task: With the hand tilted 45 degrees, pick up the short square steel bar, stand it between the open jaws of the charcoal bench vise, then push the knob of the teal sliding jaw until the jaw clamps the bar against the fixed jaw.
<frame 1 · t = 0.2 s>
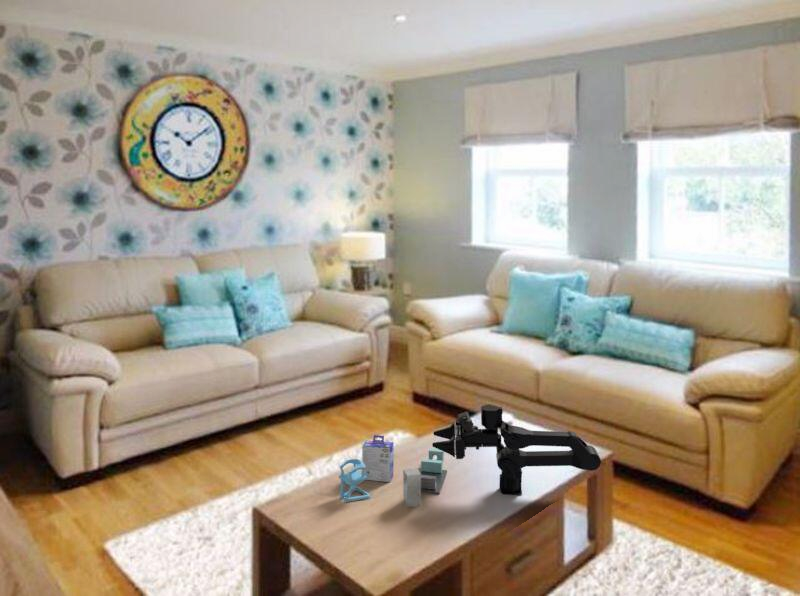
hand: (433, 438, 210), 17 cm above the table, tool horizontal, fingers open, 9 cm apart
sliding jaw: (434, 460, 226), point 3 cm above the table, slide at 0.0 cm
bench vise: (428, 481, 217), on the table
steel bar: (412, 503, 203), on the table
chair: (353, 497, 207), on the table
ink cartridge box: (378, 478, 220), on the table
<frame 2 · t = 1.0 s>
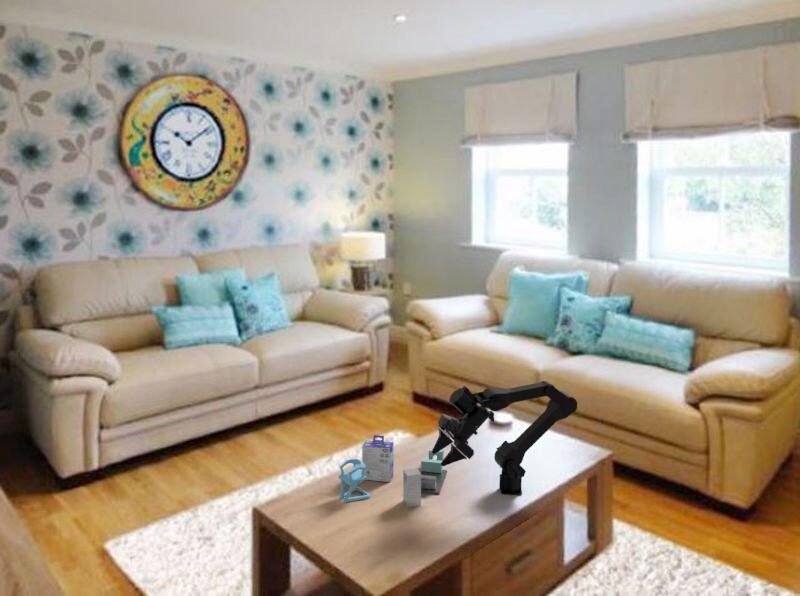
hand: (437, 459, 202), 14 cm above the table, tool tilted 45°, fingers open, 9 cm apart
nothing on the table moved.
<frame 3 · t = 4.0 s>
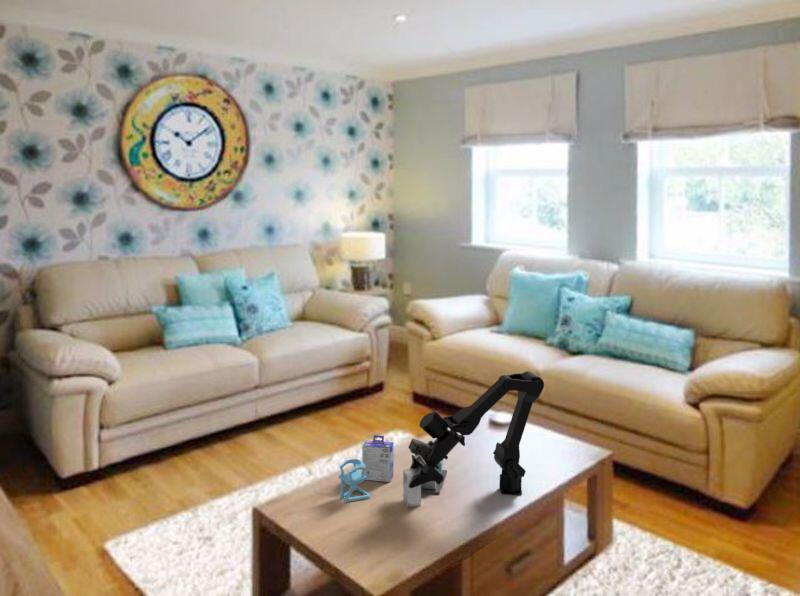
hand: (407, 483, 201), 7 cm above the table, tool tilted 45°, fingers closed on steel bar, 4 cm apart
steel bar: (412, 503, 203), on the table, touching gripper
everything else where it was.
when the fingers open (8 cm above the table, at t = 7.9 s): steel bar drops 1 cm, resting on bench vise.
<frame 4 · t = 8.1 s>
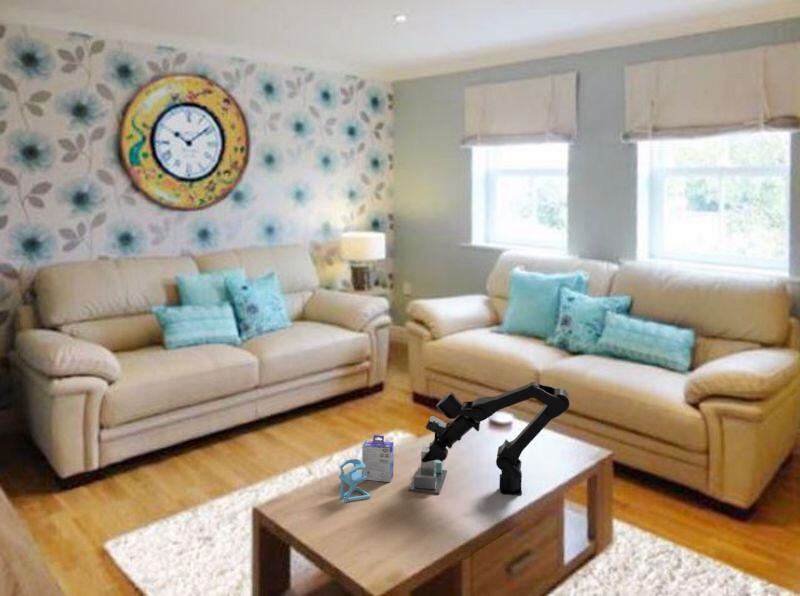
hand: (424, 457, 215), 9 cm above the table, tool tilted 45°, fingers open, 6 cm apart
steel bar: (428, 479, 217), point 1 cm above the table, touching bench vise
everything else where it was.
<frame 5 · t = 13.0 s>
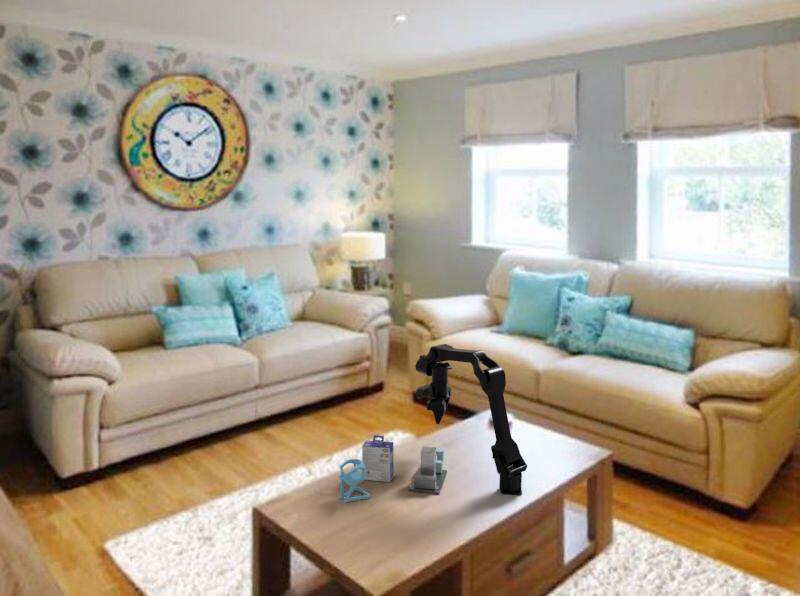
hand: (439, 420, 235), 13 cm above the table, tool pointing down, fingers open, 6 cm apart
nothing on the table moved.
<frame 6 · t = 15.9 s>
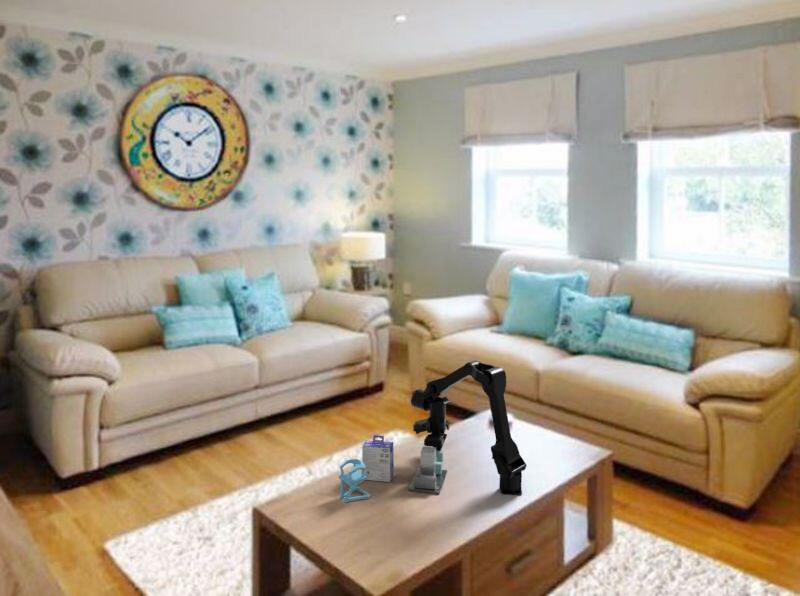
hand: (437, 455, 232), 2 cm above the table, tool pointing down, fingers closed
sliding jaw: (433, 461, 225), point 3 cm above the table, slide at 1.1 cm, touching gripper
everything else where it was.
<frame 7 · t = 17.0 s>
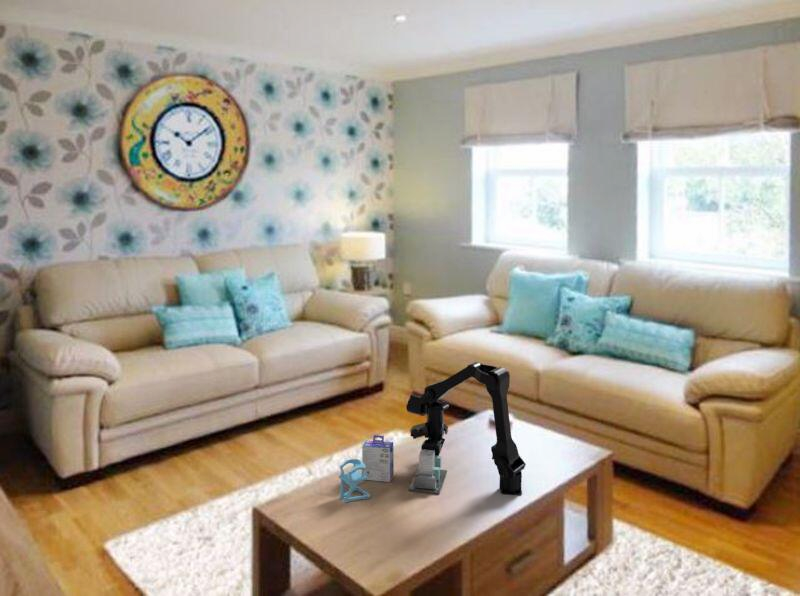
hand: (435, 460, 228), 2 cm above the table, tool pointing down, fingers closed
sliding jaw: (431, 466, 221), point 3 cm above the table, slide at 5.3 cm, touching gripper, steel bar
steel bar: (426, 482, 214), point 1 cm above the table, touching bench vise, sliding jaw
everything else where it was.
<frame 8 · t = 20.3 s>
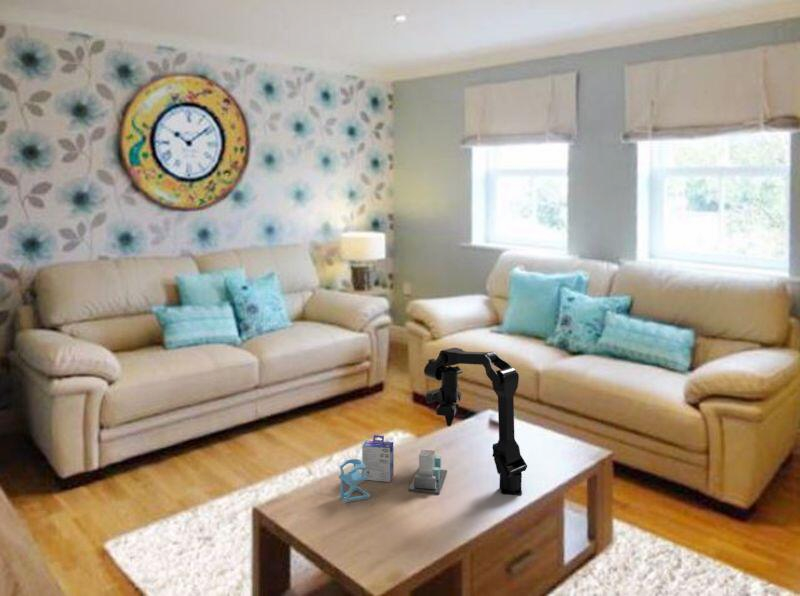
hand: (449, 425, 230), 13 cm above the table, tool pointing down, fingers closed
sliding jaw: (431, 467, 221), point 3 cm above the table, slide at 5.5 cm, touching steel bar
everything else where it was.
at the end: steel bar 1.5 cm from the target spot on the bench vise, point 0.8 cm above the bench vise's base; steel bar tilted 0°; sliding jaw touching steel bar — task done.
